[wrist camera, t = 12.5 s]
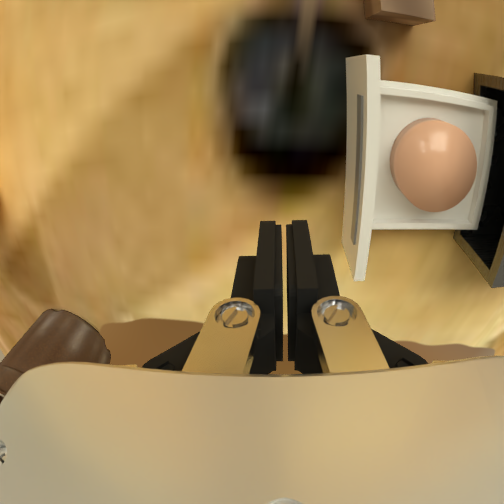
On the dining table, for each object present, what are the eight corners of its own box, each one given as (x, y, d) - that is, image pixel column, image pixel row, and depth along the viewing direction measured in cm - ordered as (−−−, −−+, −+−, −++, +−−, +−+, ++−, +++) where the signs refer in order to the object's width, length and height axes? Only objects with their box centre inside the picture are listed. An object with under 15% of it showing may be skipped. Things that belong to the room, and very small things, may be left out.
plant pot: (32, 273, 33) (-38, 365, 20) (138, 336, 37) (94, 450, 23) (29, 338, 41) (-16, 414, 27) (112, 387, 45) (80, 471, 31)
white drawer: (339, 241, 27) (351, 281, 22) (343, 57, 19) (363, 54, 14) (470, 240, 25) (497, 273, 21) (493, 83, 17) (534, 92, 13)
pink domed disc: (385, 200, 24) (393, 211, 22) (392, 113, 20) (402, 117, 18) (457, 203, 23) (468, 213, 21) (469, 123, 19) (482, 129, 17)
